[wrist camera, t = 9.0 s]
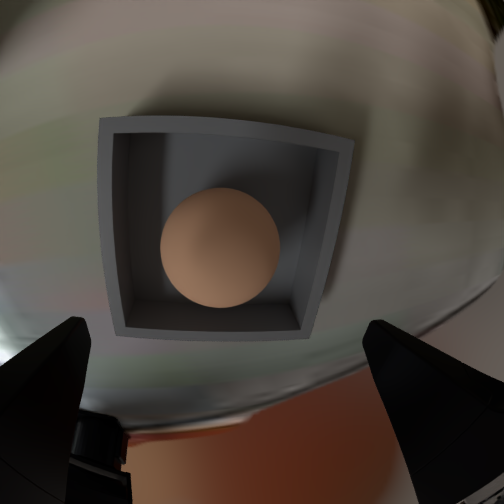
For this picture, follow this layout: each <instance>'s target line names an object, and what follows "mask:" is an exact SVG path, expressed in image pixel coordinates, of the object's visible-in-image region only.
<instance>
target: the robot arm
mask: <svg viewBox="0 0 504 504" xmlns="http://www.w3.org/2000/svg"><path fill="white" fill-rule="evenodd" d="M362 344H363V348H364V351H365V354H366V357H367V360H368V363H369V366H370V370H371V373H372V376H373V379H374V382H375V384H376V387H377V389H378V392H379V394H380V396H381V399H382V401H383V404H384V406H385V409H386V411H387V414H388V416H389V419H390V421H391V424H392V427H393V429H394V432H395V434H396V437H397V440H398V442H399V445H400V448H401V451H402V453H403V456H404V459H405V462H406V465H407V467H408V470H409V474H410V477H411V480H412V483H413V486H414V489H415V493H416V496H417V499H418V502H419V504H456V503H458V502H460V501H462V500H464V501H463V502H461V503H460V504H504V382H502V381H499V380H497V379H495V378H492V377H490V376H488V375H486V374H484V373H482V372H480V371H478V370H476V369H474V368H472V367H470V366H468V365H466V364H464V363H462V362H461V361H459V360H457V359H455V358H453V357H451V356H450V355H448V354H446V353H444V352H442V351H440V350H438V349H437V348H435V347H433V346H431V345H429V344H427V343H425V342H423V341H422V340H420V339H418V338H416V337H414V336H412V335H410V334H409V333H407V332H405V331H403V330H401V329H399V328H397V327H395V326H394V325H392V324H390V323H388V322H386V321H384V320H381V319H379V320H372V321H371V322H370V323H369V325H368V328H367V330H366V333H365V335H364V337H363V341H362ZM90 349H91V338H90V334H89V331H88V328H87V324H86V321H85V319H84V318H82V317H75V316H72V317H70V318H69V319H67V320H66V321H64V322H63V323H61V324H60V325H58V326H57V327H55V328H54V329H52V330H51V331H49V332H48V333H46V334H45V335H44V336H42V337H41V338H39V339H38V340H36V341H35V342H33V343H32V344H31V345H29V346H28V347H26V348H25V349H24V350H22V351H21V352H19V353H18V354H17V355H15V356H14V357H12V358H11V359H10V360H8V361H7V362H6V363H4V364H3V365H2V366H0V504H132V489H131V474H130V473H128V472H122V471H121V464H123V465H124V464H126V455H127V445H128V437H127V436H126V434H125V432H124V430H123V429H122V427H121V426H120V424H119V422H118V420H117V419H116V418H114V417H110V416H104V415H98V414H93V413H88V412H83V411H79V406H80V402H81V398H82V394H83V389H84V384H85V378H86V371H87V365H88V359H89V354H90Z"/></svg>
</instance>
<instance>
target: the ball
mask: <svg viewBox="0 0 504 504" xmlns="http://www.w3.org/2000/svg"><path fill="white" fill-rule="evenodd" d="M160 251H161V260H162V264H163V267H164V270H165V272H166V274H167V276H168V278H169V280H170V281H171V283H172V284H173V285H174V287H175V288H176V289H177V290H178V291H179V292H180V293H181V294H183V295H184V296H185V297H187V298H188V299H190V300H192V301H193V302H196V303H198V304H201V305H204V306H208V307H215V308H226V307H233V306H236V305H240V304H242V303H245V302H247V301H249V300H250V299H252V298H253V297H255V296H256V295H258V294H259V293H260V292H261V291H262V290H263V289H264V288H265V287H266V286H267V284H268V283H269V282H270V280H271V278H272V277H273V275H274V273H275V271H276V268H277V265H278V261H279V256H280V240H279V234H278V230H277V227H276V225H275V223H274V221H273V219H272V217H271V215H270V214H269V212H268V211H267V209H266V208H265V207H264V206H263V205H262V204H261V203H260V202H258V201H257V200H256V199H255V198H253V197H251V196H250V195H248V194H246V193H244V192H241V191H239V190H235V189H230V188H211V189H206V190H202V191H199V192H197V193H195V194H192V195H191V196H189V197H187V198H186V199H185V200H183V201H182V202H181V203H180V204H179V205H178V206H177V207H176V208H175V209H174V210H173V212H172V213H171V214H170V216H169V217H168V219H167V221H166V223H165V226H164V229H163V232H162V237H161V244H160Z"/></svg>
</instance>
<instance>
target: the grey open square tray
mask: <svg viewBox="0 0 504 504" xmlns="http://www.w3.org/2000/svg"><path fill="white" fill-rule="evenodd" d="M354 143H355V140H351V139H347V138H343V137H339V136H335V135H330V134H326V133H321V132H316V131H311V130H306V129H300V128H295V127H289V126H283V125H276V124H269V123H262V122H254V121H246V120H236V119H225V118H213V117H196V116H122V117H106V118H100V121H99V135H98V158H97V193H98V216H99V231H100V242H101V252H102V260H103V268H104V275H105V282H106V288H107V294H108V300H109V306H110V311H111V316H112V321H113V325H114V330H115V334H116V336H124V337H135V338H148V339H164V340H184V341H273V340H294V339H309V338H310V335H311V331H312V328H313V325H314V321H315V318H316V315H317V311H318V308H319V304H320V301H321V297H322V294H323V290H324V286H325V283H326V279H327V275H328V271H329V267H330V263H331V259H332V255H333V251H334V247H335V243H336V238H337V234H338V230H339V225H340V220H341V216H342V211H343V206H344V201H345V196H346V191H347V185H348V180H349V174H350V168H351V162H352V156H353V150H354ZM211 188H230V189H235V190H239V191H241V192H244V193H246V194H248V195H250V196H251V197H253V198H255V199H256V200H257V201H258V202H260V203H261V204H262V205H263V206H264V207H265V208H266V209H267V211H268V212H269V214H270V215H271V217H272V219H273V221H274V223H275V225H276V227H277V230H278V234H279V240H280V256H279V261H278V265H277V268H276V271H275V273H274V275H273V277H272V278H271V280H270V282H269V283H268V284H267V286H266V287H265V288H264V289H263V290H262V291H261V292H260V293H259V294H258V295H256V296H255V297H253V298H252V299H250V300H249V301H247V302H245V303H242V304H240V305H236V306H233V307H226V308H215V307H208V306H204V305H201V304H198V303H196V302H193V301H192V300H190V299H188V298H187V297H185V296H184V295H183V294H181V293H180V292H179V291H178V290H177V289H176V288H175V287H174V285H173V284H172V283H171V281H170V280H169V278H168V276H167V274H166V272H165V270H164V267H163V264H162V260H161V251H160V244H161V237H162V232H163V229H164V226H165V223H166V221H167V219H168V217H169V216H170V214H171V213H172V212H173V210H174V209H175V208H176V207H177V206H178V205H179V204H180V203H181V202H182V201H183V200H185V199H186V198H187V197H189V196H191V195H192V194H195V193H197V192H199V191H202V190H206V189H211Z"/></svg>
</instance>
